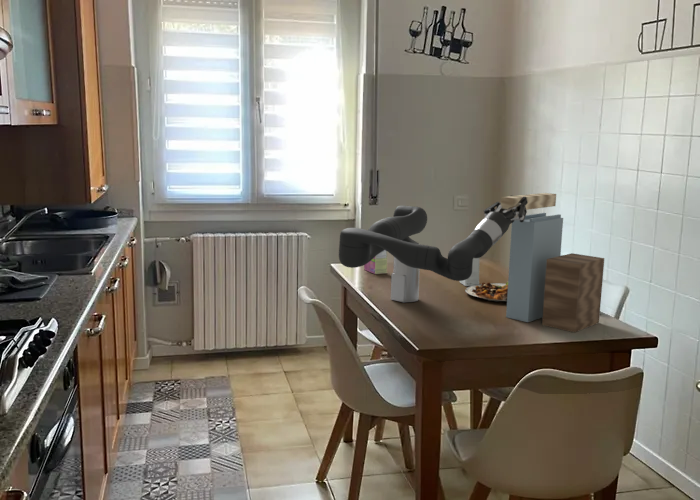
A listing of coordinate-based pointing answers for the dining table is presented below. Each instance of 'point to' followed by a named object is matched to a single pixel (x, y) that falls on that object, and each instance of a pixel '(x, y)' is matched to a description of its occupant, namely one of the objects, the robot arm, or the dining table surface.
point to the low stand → (572, 292)
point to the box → (377, 264)
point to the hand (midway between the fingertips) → (519, 198)
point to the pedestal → (531, 263)
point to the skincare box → (473, 274)
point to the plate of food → (489, 291)
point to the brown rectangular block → (530, 201)
